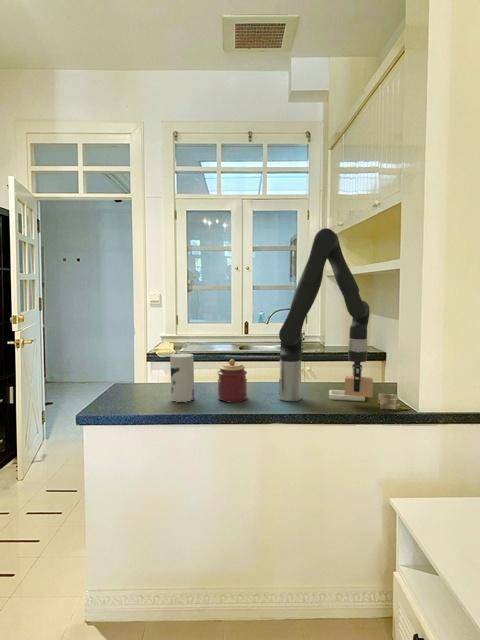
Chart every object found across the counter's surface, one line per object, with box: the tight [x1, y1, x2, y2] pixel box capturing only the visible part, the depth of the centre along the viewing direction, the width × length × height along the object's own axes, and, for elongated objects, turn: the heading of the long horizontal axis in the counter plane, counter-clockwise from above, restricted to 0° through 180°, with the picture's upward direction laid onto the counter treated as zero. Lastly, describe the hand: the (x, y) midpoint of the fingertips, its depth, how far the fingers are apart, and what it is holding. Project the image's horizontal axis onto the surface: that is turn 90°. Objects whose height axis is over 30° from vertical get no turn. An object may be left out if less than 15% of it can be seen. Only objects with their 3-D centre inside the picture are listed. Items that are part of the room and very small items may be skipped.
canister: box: [217, 358, 248, 403], centre depth 189 cm, size 13×13×18 cm
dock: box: [378, 393, 400, 410], centre depth 176 cm, size 7×8×4 cm
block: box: [344, 375, 374, 398], centre depth 178 cm, size 11×5×7 cm, turn 73°
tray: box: [328, 389, 366, 402], centre depth 189 cm, size 15×9×2 cm, turn 76°
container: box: [169, 353, 195, 401], centre depth 188 cm, size 10×10×20 cm
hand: (356, 389), depth 178 cm, fingers closed on block, 5 cm apart
